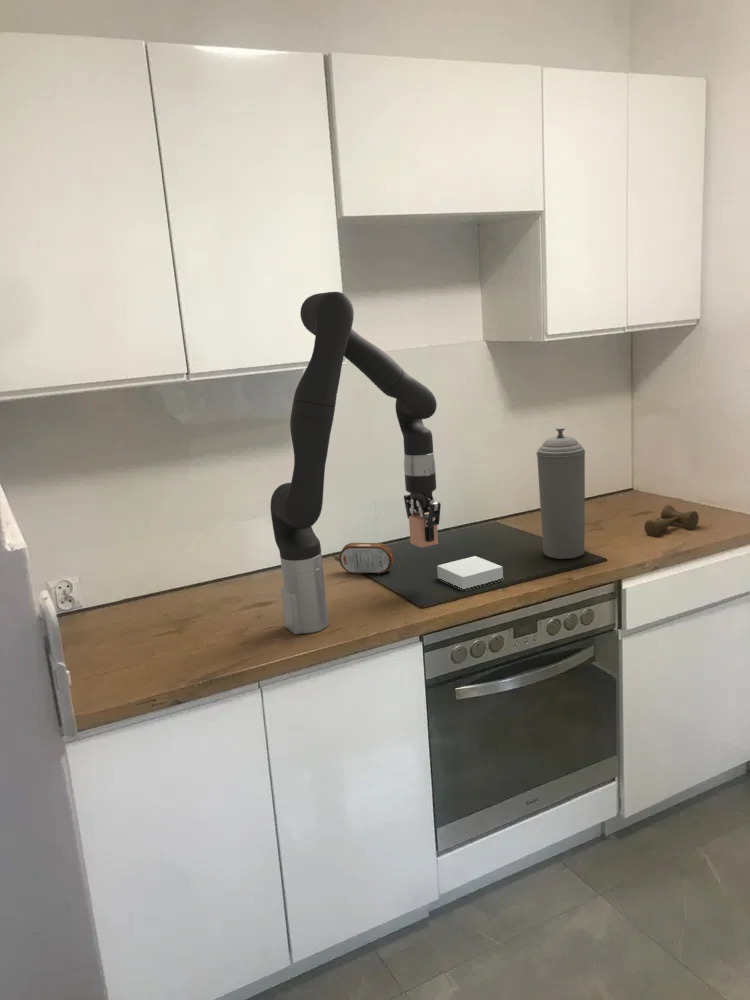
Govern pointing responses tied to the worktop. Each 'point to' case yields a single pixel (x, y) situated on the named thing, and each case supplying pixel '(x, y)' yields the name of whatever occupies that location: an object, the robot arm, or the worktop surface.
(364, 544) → the tin
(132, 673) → the worktop surface
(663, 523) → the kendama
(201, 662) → the worktop surface
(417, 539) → the terracotta block
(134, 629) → the worktop surface
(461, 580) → the white block
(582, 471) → the canister
